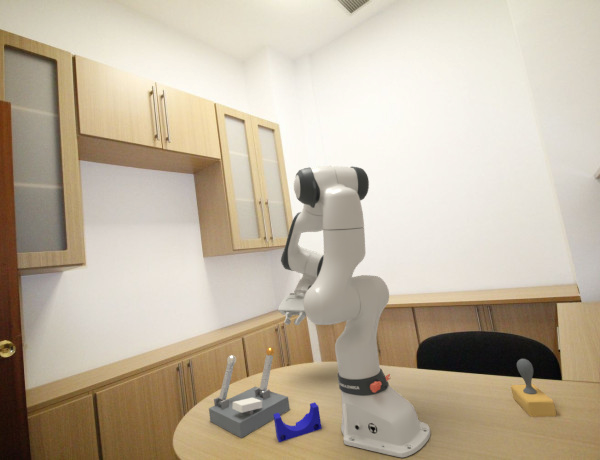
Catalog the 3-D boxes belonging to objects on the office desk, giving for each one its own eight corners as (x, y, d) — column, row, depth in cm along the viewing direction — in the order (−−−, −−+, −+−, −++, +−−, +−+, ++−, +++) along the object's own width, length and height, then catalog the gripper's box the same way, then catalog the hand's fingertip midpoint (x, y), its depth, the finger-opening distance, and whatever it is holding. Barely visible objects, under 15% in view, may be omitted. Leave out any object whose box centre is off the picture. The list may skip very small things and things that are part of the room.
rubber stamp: (513, 398, 86) (503, 353, 87) (536, 397, 85) (527, 352, 86) (530, 417, 77) (519, 366, 78) (557, 416, 75) (545, 365, 77)
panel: (289, 409, 99) (286, 389, 100) (241, 438, 87) (238, 414, 88) (256, 398, 112) (254, 380, 113) (210, 421, 100) (207, 401, 100)
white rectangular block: (262, 407, 93) (262, 400, 94) (241, 412, 89) (242, 405, 89) (252, 404, 97) (252, 397, 97) (232, 408, 92) (232, 401, 93)
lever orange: (268, 397, 102) (277, 348, 108) (260, 396, 101) (270, 346, 106) (262, 395, 104) (271, 347, 110) (255, 394, 103) (265, 346, 108)
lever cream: (227, 406, 100) (238, 356, 105) (219, 406, 98) (231, 354, 104) (222, 404, 102) (234, 355, 108) (214, 404, 100) (226, 353, 106)
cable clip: (316, 422, 90) (313, 400, 90) (321, 429, 86) (318, 406, 86) (275, 434, 86) (272, 412, 87) (278, 443, 82) (275, 419, 83)
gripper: (283, 289, 130) (268, 318, 122) (319, 286, 115) (304, 320, 107) (293, 297, 132) (278, 327, 125) (329, 296, 118) (315, 330, 110)
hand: (291, 324), depth 116 cm, fingers open, 4 cm apart
